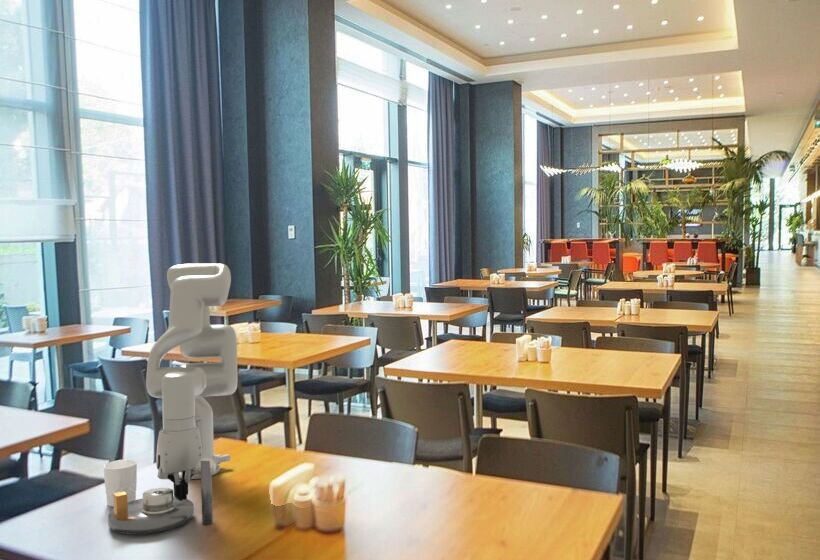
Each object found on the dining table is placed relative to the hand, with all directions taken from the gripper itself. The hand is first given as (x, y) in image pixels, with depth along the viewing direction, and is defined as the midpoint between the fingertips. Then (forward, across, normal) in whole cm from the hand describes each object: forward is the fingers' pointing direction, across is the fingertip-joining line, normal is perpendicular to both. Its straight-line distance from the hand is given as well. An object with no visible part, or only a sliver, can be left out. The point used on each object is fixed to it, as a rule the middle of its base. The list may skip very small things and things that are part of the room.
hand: (181, 498), depth 173 cm
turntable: (+4, +7, 0) cm, 8 cm away
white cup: (+4, +9, -18) cm, 21 cm away
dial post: (+4, -3, +9) cm, 10 cm away
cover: (+1, +6, 0) cm, 6 cm away
